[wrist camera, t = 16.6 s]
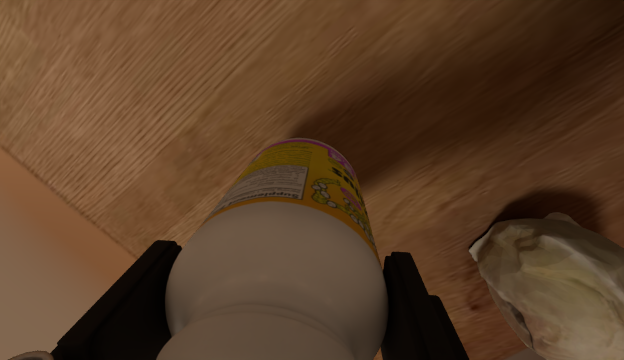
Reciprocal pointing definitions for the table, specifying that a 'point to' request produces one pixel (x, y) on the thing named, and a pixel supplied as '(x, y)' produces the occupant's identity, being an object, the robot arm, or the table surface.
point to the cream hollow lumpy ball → (556, 286)
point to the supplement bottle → (281, 266)
